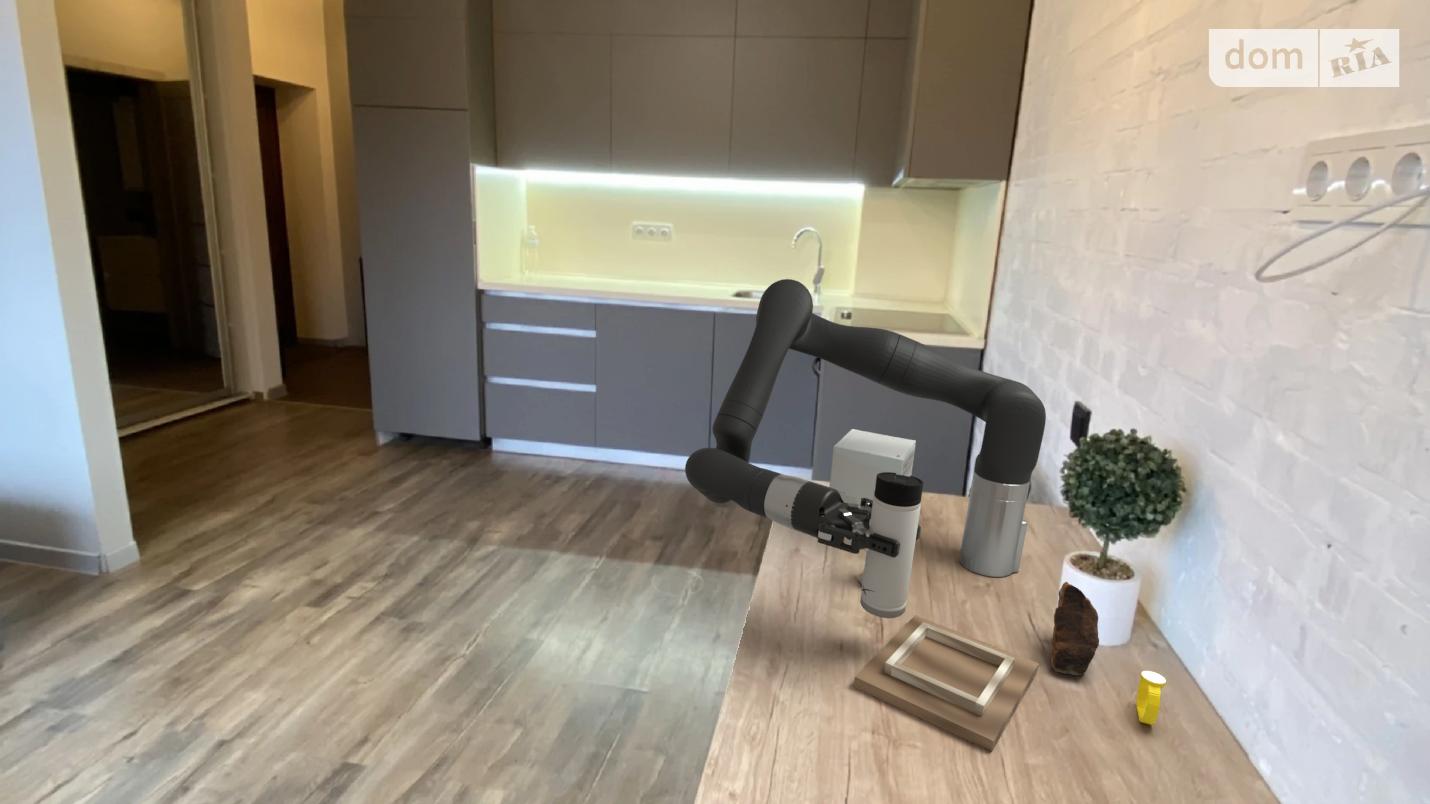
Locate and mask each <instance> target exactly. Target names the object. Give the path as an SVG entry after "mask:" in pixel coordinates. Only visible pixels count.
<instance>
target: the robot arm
mask: <svg viewBox="0 0 1430 804" xmlns="http://www.w3.org/2000/svg"><path fill="white" fill-rule="evenodd" d="M813 311H814V302H813V297H812V294H811V292H810V290H809V289H808V288H807V287H806V285H804V284H803V283H802V282H800V281H798V280H796V279H791V278H790V279H789V278H786V279H785V278H784V279H780V280H776V281H774V282H773V283H772V284H770V285H769V286H768V287H767V288H766V289H765V291H764V292H763V293H762V295H761V297H760V300H759V303H758V308H757V311H756V315H755V328H754V332H753V335H752V337H751V341H750V342H749V345H748V348H747V350H746V352H745V354H744V357H743V359H742V361H741V362H740V365H739V367H738V369H737V372H736V373H735V376H734V377H733V380H732V382H731V384H730V386H729V388H728V390H727V392H726V394H725V396H724V398H723V401H722V403H721V406H720V408H719V410H718V412H717V414H716V417H715V419H714V422H713V424H712V428H711V430H712V434H713V436H714V439H715V441H716V445H715V446H716V447H703V448H699V449H697V450H695V451H694V452H692V453H691V455H689V456H688V458H687V460H686V462H685V467H684V472H685V477H686V479H687V481H688V483H689V484H690V485H691V486H692V488H694V489H695V490H697V492H699V493H700V494H702V495H703V496H704V498H706V499H708V500H709V501H710V502H712V503H715V504H726V503H729V502H731V501H732V502H734V503H736V504H737V505H738V506H739V507H741V508H742V509H743V510H746V511H747V512H749V513H752V514H755V515H758V516H760V517H764V518H767V519H769V520H771V521H773V522H775V523H777V524H779V525H780V526H783V527H785V528H789V529H791V530H794V531H797V532H799V533H803V534H805V535H808V536H810V537H813V538H816V539H817V543H818V544H821V545H825V546H828V547H831V548H835V549H837V550H842V551H845V552H848V553H850V554H857V555H858V554H860V552H861V551H860V550H862V551H864V552H867V551H869V550H870V549H871V550H873V551H876V552H879V553H882V554H885V555H887V556H890V557H893V558H895V557H896V556H898V555H899V549H900V543H899V541H897V540H894V539H891V538H888V537H885V536H882V535H879V534H876V533H874V534H873V535H872V532H871V531H869V529H870V526H869V523H870V519H871V513H872V505H873V500H870V499H868V498H861V503H860V504H859V505H858V504H853V503H845V502H843V500H842V498H841V495H840V493H839V492H838V491H837V490H836V489H834V488H830V487H829V486H826V485H824V484H820V483H817V482H815V481H810V480H809V479H804V478H801V477H798V476H794V475H788V474H783V473H780V472H777V471H773V470H770V469H767V468H763V467H760V466H756V465H754V464H752V463H750V458H751V451H752V445H753V444H752V443H753V440H754V438H755V436H756V434H757V431H758V429H759V426H760V425H761V421H762V419H763V418H764V415H765V412H766V409H767V407H768V405H769V401H770V398H771V394H772V392H773V390H774V386H775V383H776V380H777V378H778V375H779V372H780V370H781V367H782V365H783V362H784V360H785V358H786V355H787V354H788V351H789V350H792V351H796V352H799V353H801V354H802V353H803V354H805V355H808V356H812V357H816V358H818V359H821V360H823V361H826V362H828V363H831V364H832V365H834V366H837V367H840V368H842V369H844V370H846V371H848V372H852V373H853V374H856V375H858V376H861V377H863V378H864V379H865V378H866V379H867V380H869V381H872V382H874V383H876V384H878V385H880V386H883V387H886V388H888V389H890V390H893V391H894V392H898V393H900V394H904V395H906V396H911V397H916V398H921V399H927V400H930V401H931V400H932V401H938V402H942V403H946V404H949V405H952V406H954V407H956V408H958V409H961V410H962V411H965V412H967V413H969V414H971V415H973V416H974V417H976V418H977V419H980V420H981V421H983V422H985V425H984V432H983V435H982V436H983V437H982V441H981V446H980V447H981V448H980V451H979V454H977V456H976V458H975V461H974V467H973V472H972V480H971V486H970V493H969V497H968V505H967V511H966V518H965V522H964V528H963V535H962V541H961V546H960V554H959V559H958V560H959V562H960V564H961V565H963V567H965V568H966V569H967V570H969V571H971V572H974V573H975V574H978V575H982V576H987V577H993V578H1002V577H1003V578H1004V577H1007V576H1010V575H1012V574H1013V573H1019V571H1020V566H1021V561H1022V555H1023V550H1024V545H1025V541H1026V540H1025V539H1026V533H1027V529H1028V522H1027V521H1026V520H1025V519H1024V516H1025V511H1026V510H1025V509H1026V505H1027V501H1028V494H1029V490H1030V489H1029V488H1030V483H1031V480H1032V473H1033V471H1034V470H1035V468H1036V467H1037V463H1038V460H1039V457H1040V453H1041V452H1040V451H1041V447H1042V442H1043V438H1044V432H1045V427H1046V421H1047V420H1046V419H1047V413H1046V408H1045V406H1044V403H1043V402H1042V400H1041V399H1040V398H1039V397H1038V395H1037V394H1036V393H1035V392H1034V391H1033V389H1031V388H1030V387H1029V386H1028V385H1026V384H1024V383H1022V382H1020V381H1016V380H1013V379H1011V378H1006V377H1002V376H999V375H995V374H992V373H989V372H986V371H982V370H979V369H977V368H974V367H970V366H968V365H966V364H964V363H962V362H959V361H958V360H956V359H955V358H953V357H950V356H948V355H946V354H944V353H942V352H941V351H938V350H936V349H935V348H933V347H929V345H928V346H927V345H926V344H924V343H921V342H920V341H917V340H915V339H913V338H910V337H908V336H905V335H902V334H901V333H900V334H899V332H895V331H892V330H888V329H885V328H877V327H869V326H853V325H847V324H846V325H845V324H840V323H837V322H833V321H831V320H828V319H826V318H823V317H821V316H820V315H817V314H815V313H813ZM921 530H922V528H921V525H919V524H918V528H917V534H916V541H918V540H919V539H920V537H921ZM846 542H847V543H846ZM1011 573H1012V574H1011Z"/></svg>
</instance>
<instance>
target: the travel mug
mask: <svg viewBox="0 0 1430 804" xmlns="http://www.w3.org/2000/svg"><path fill="white" fill-rule="evenodd" d="M923 489H924V481H923V480H922V479H921V478H919V477H916V476H913V475H911V476H910V477H908V476H904V475H896V473H892V472H883V473H879V474H877V477H876V485H875V492H874V499H873V505H872V513H871V521H870V529H869V531H871V532H872V535H873V534H874V533H876V534H879V535H882V536H885V537H888V538H891V539H894V540H897V541H899V543H900V549H899V555H898V556H896V557H895V558H893V557H890V556H887V555H885V554H882V553H879V552H876V551H873V550H871V549H870V550H869V551H865V553H866V554H865V560H864V561H865V563H864V568H863V571H864V576H863V584H862V585H861V593H860V601H859V602H860V605H861V607H862V609H864V611H866V612H867V613H868V614H871V615H873V616H875V617H878V618H882V619H883V618H884V619H895V618H899V617H901V616H903V614H905V612H906V608H907V603H908V602H907V600H908V594H909V588H910V582H911V574H912V568H913V567H912V566H913V562H914V553H915V547H916V541H917V540H916V534H917V528H918V525H919V520H920V513H921V505H922V497H923V496H922V495H923Z"/></svg>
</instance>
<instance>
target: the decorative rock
mask: <svg viewBox="0 0 1430 804" xmlns="http://www.w3.org/2000/svg"><path fill="white" fill-rule="evenodd" d="M1060 587H1061V588H1060V589H1059V590H1058V602H1057V607H1056V608H1055V610H1054V615H1053V625H1054V626H1053V631H1052V638H1051V651H1050V652H1051V656H1050V662H1051V667H1052V669H1053V670H1054V672H1056V673H1059V674H1060V673H1061V674H1064V675H1067V674H1068V675H1072V676H1081V677H1082V676H1083V677H1084V676H1085V675H1084V674H1085V673H1086V671H1087V670H1088V668H1089V666H1090V663H1092V661H1093V659H1094V657H1095V655H1096V651H1097V649H1098V647H1099V645H1100V638H1099V630H1098V629H1099V628H1098V627H1099V625H1098V624H1099V615H1098V612H1097V610H1096V608H1095V607H1094V606H1093V604H1092V602H1091V601H1090V599H1089V598H1088V597H1087V596H1086V595H1085V593H1084V592H1083V591H1082V590H1081V589H1080V588H1078V587H1076V586H1074V585H1072V584H1070V583H1069V582H1068V581H1065V582H1064V583H1062V585H1061V586H1060Z"/></svg>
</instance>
